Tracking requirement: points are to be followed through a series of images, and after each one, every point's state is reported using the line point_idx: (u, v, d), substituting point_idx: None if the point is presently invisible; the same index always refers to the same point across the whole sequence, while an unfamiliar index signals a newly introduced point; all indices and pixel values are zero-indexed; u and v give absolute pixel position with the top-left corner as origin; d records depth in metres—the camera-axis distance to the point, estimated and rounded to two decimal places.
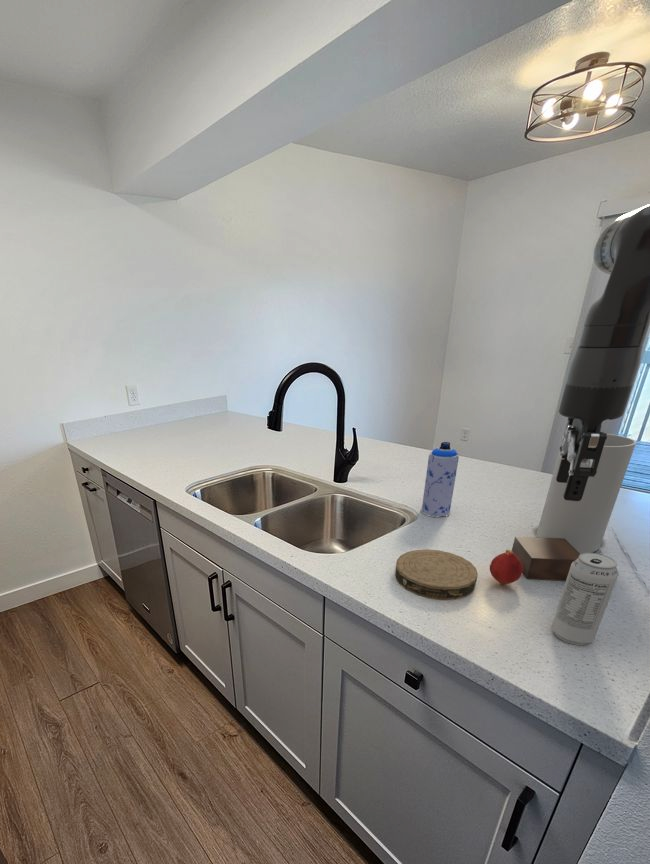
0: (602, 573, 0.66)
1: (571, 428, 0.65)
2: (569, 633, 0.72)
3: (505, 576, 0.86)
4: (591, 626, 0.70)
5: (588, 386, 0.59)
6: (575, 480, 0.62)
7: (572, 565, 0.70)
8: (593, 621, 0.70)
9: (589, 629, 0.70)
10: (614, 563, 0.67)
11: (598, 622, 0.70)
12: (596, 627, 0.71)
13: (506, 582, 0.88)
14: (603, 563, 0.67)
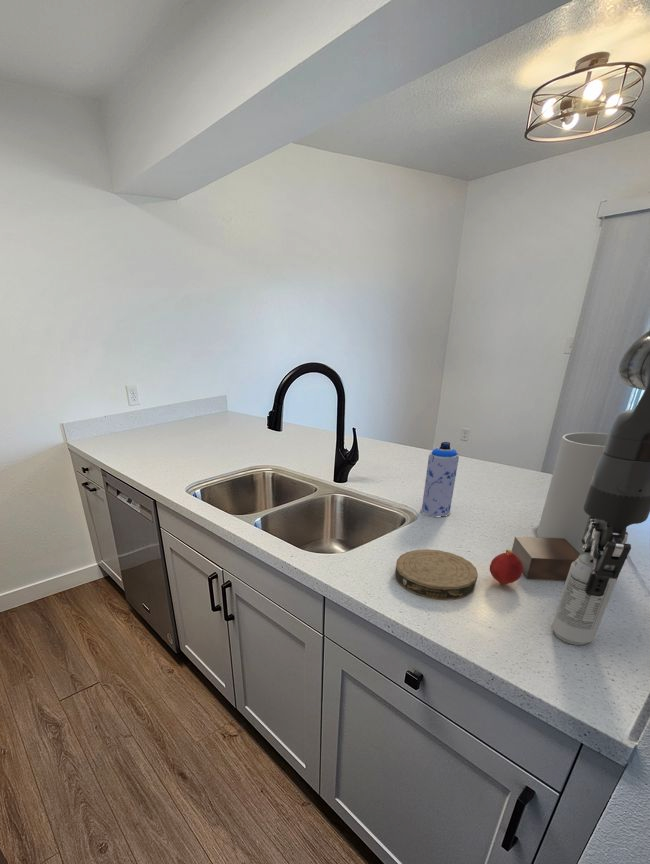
0: None
1: (595, 524, 0.67)
2: (569, 633, 0.72)
3: (505, 576, 0.86)
4: (591, 626, 0.70)
5: (614, 493, 0.61)
6: (597, 578, 0.65)
7: (572, 565, 0.70)
8: (593, 621, 0.70)
9: (589, 630, 0.70)
10: None
11: (598, 622, 0.70)
12: (596, 627, 0.71)
13: (506, 582, 0.88)
14: None
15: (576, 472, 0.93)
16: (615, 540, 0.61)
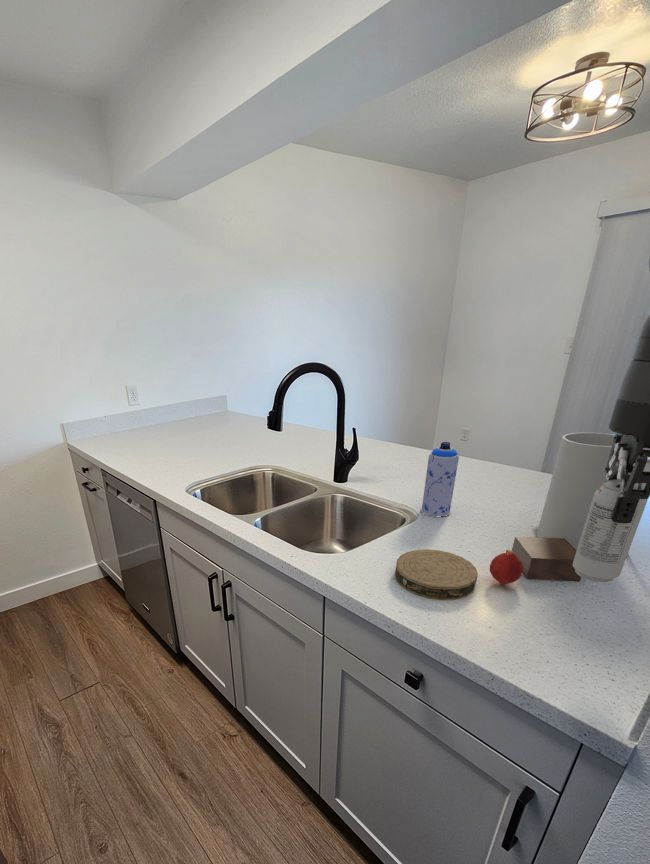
0: None
1: (621, 444, 0.61)
2: (593, 569, 0.66)
3: (505, 576, 0.86)
4: (617, 560, 0.65)
5: (645, 402, 0.55)
6: (625, 502, 0.60)
7: (596, 493, 0.64)
8: (619, 553, 0.64)
9: (614, 563, 0.65)
10: None
11: (625, 555, 0.65)
12: (622, 561, 0.65)
13: (506, 582, 0.88)
14: None
15: (576, 472, 0.93)
16: (646, 454, 0.56)
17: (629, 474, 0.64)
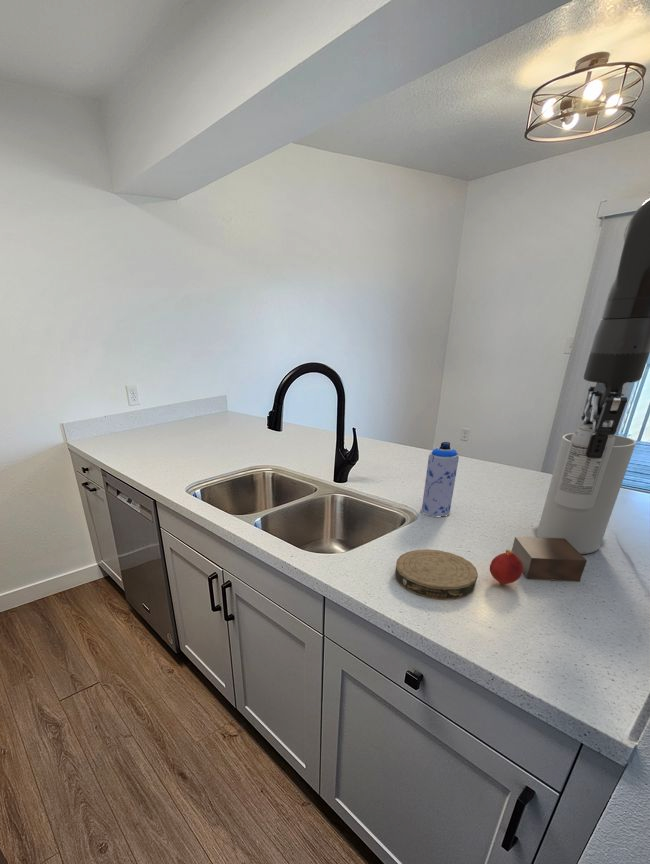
0: None
1: (594, 392, 0.74)
2: (571, 501, 0.79)
3: (505, 576, 0.86)
4: (591, 492, 0.77)
5: (611, 353, 0.67)
6: (597, 439, 0.72)
7: (573, 435, 0.77)
8: (592, 485, 0.76)
9: (589, 495, 0.77)
10: None
11: (597, 487, 0.77)
12: (595, 493, 0.77)
13: (506, 582, 0.88)
14: None
15: None
16: (613, 396, 0.68)
17: None
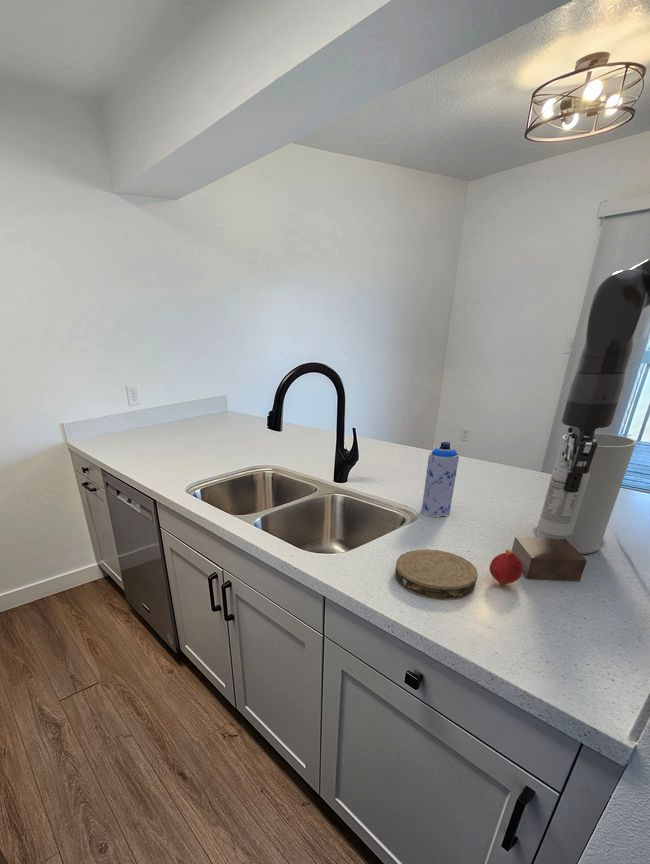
0: None
1: (571, 434, 0.83)
2: (551, 528, 0.88)
3: (505, 576, 0.86)
4: (569, 521, 0.86)
5: (584, 402, 0.77)
6: (573, 476, 0.81)
7: (553, 471, 0.86)
8: (570, 515, 0.86)
9: (567, 524, 0.86)
10: None
11: (574, 517, 0.86)
12: (573, 522, 0.87)
13: (506, 582, 0.88)
14: None
15: None
16: (585, 440, 0.77)
17: None
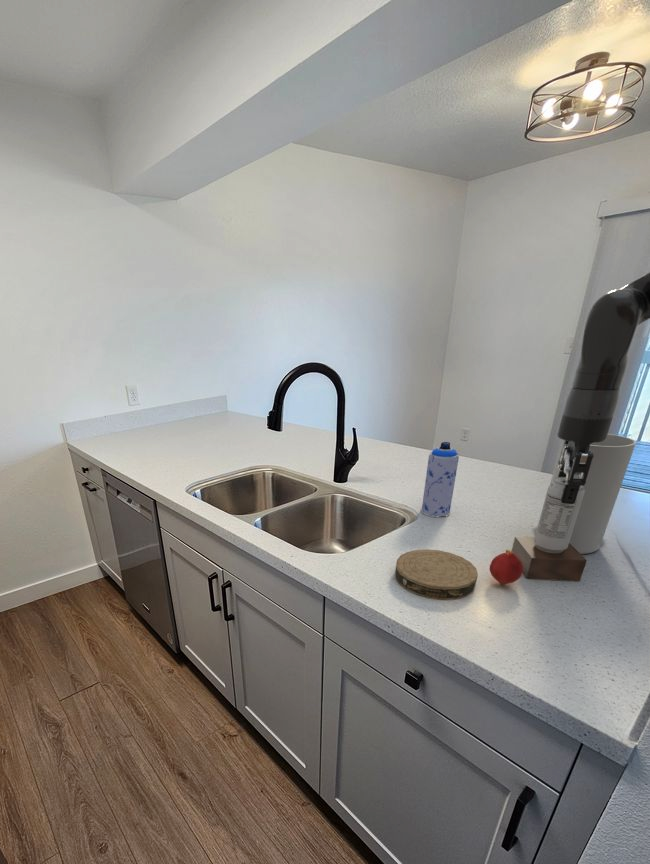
0: None
1: (567, 448, 0.84)
2: (547, 543, 0.90)
3: (505, 576, 0.86)
4: (564, 536, 0.88)
5: (579, 417, 0.78)
6: (570, 488, 0.82)
7: (549, 486, 0.87)
8: (565, 531, 0.87)
9: (562, 538, 0.88)
10: None
11: (570, 532, 0.88)
12: (568, 537, 0.88)
13: (506, 582, 0.88)
14: None
15: None
16: (581, 452, 0.79)
17: None
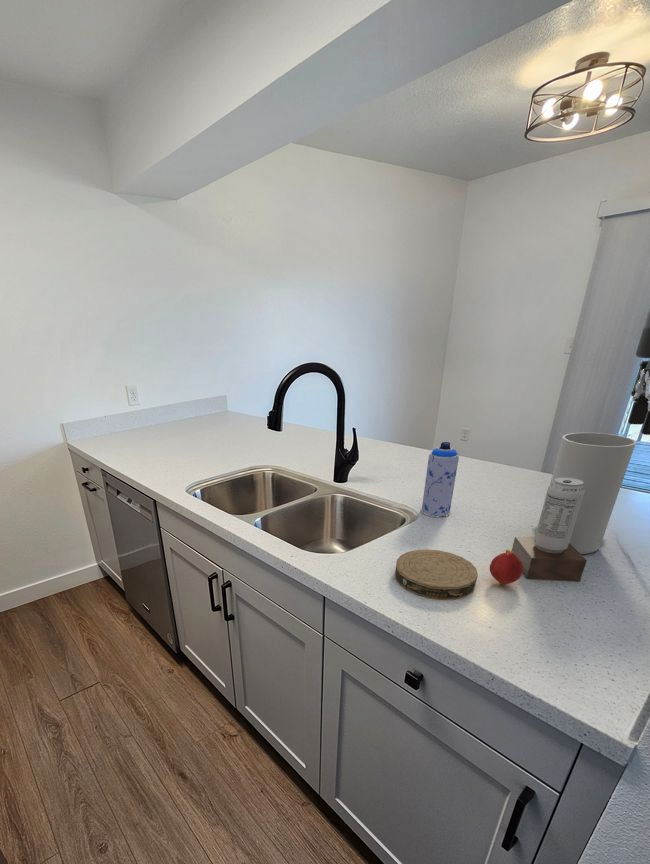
0: (571, 490, 0.84)
1: (647, 370, 0.72)
2: (547, 543, 0.90)
3: (505, 576, 0.86)
4: (564, 536, 0.88)
5: None
6: None
7: (549, 486, 0.87)
8: (565, 531, 0.87)
9: (562, 539, 0.88)
10: (581, 482, 0.85)
11: (570, 532, 0.88)
12: (568, 537, 0.88)
13: (506, 582, 0.88)
14: (572, 482, 0.85)
15: (576, 472, 0.93)
16: None
17: None
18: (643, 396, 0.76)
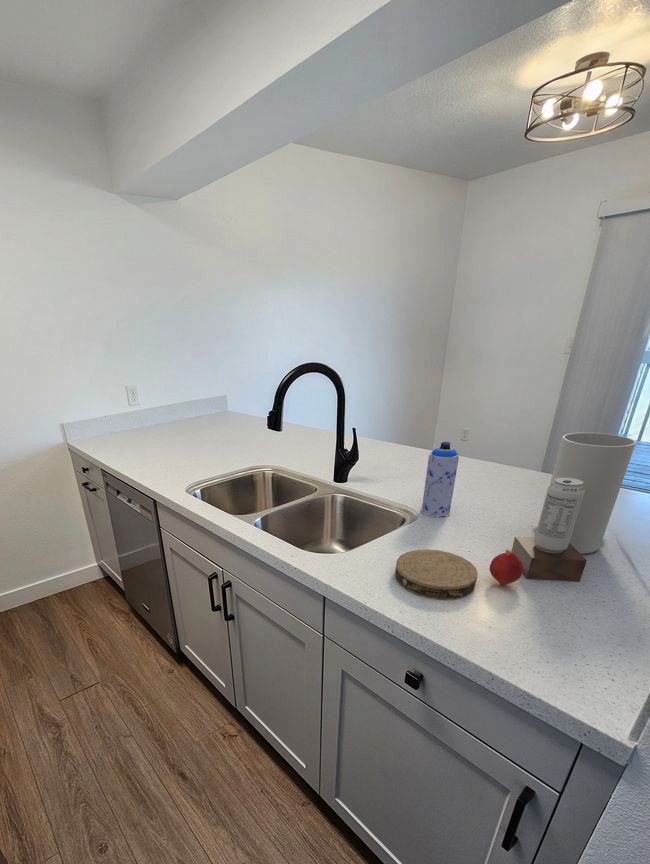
0: (571, 490, 0.84)
1: None
2: (547, 543, 0.90)
3: (505, 576, 0.86)
4: (564, 536, 0.88)
5: None
6: None
7: (549, 486, 0.87)
8: (565, 531, 0.87)
9: (562, 539, 0.88)
10: (581, 482, 0.85)
11: (570, 532, 0.88)
12: (568, 537, 0.88)
13: (506, 582, 0.88)
14: (572, 482, 0.85)
15: (576, 472, 0.93)
16: None
17: None
18: None
